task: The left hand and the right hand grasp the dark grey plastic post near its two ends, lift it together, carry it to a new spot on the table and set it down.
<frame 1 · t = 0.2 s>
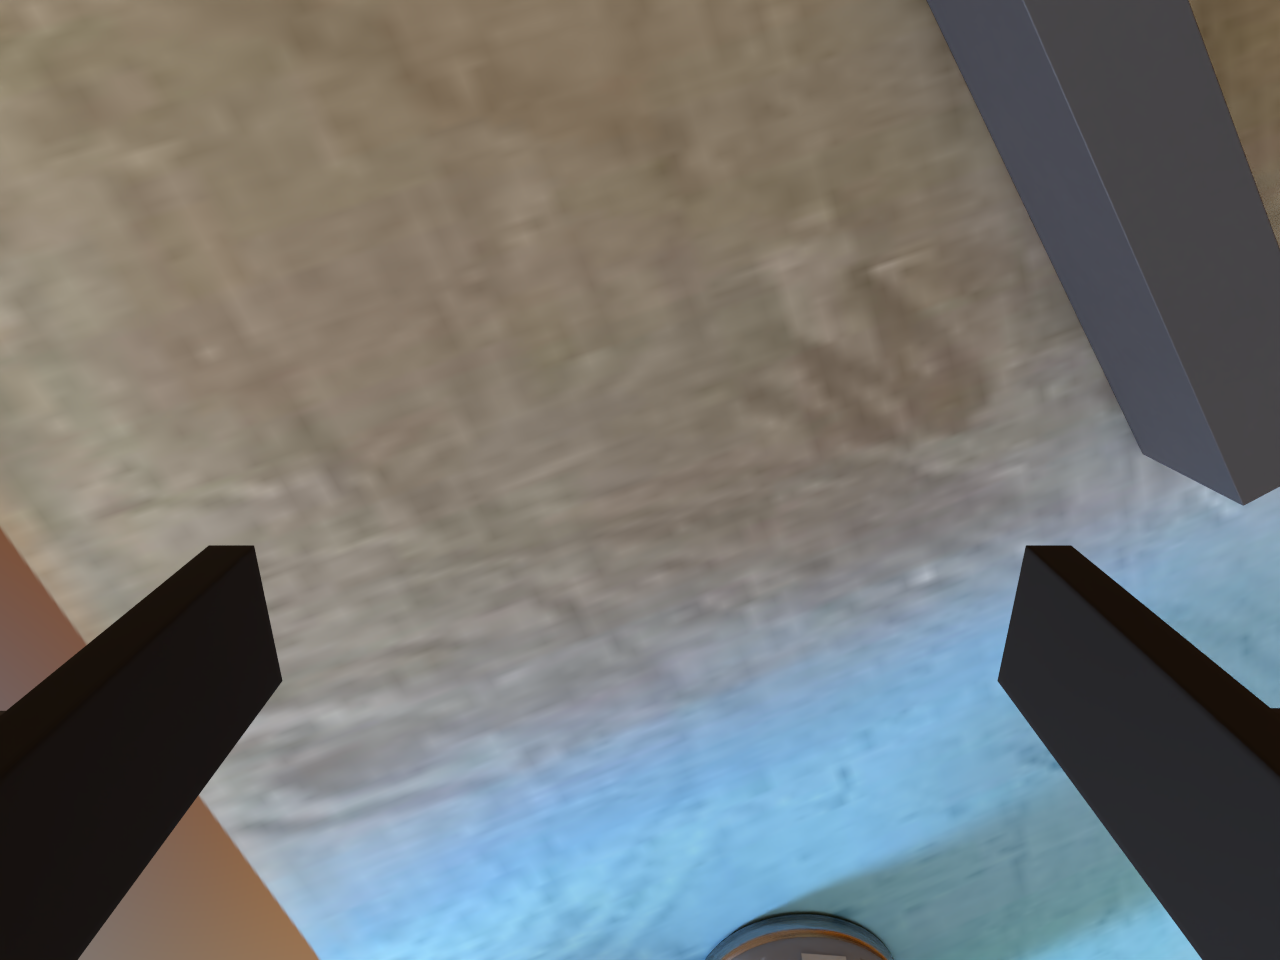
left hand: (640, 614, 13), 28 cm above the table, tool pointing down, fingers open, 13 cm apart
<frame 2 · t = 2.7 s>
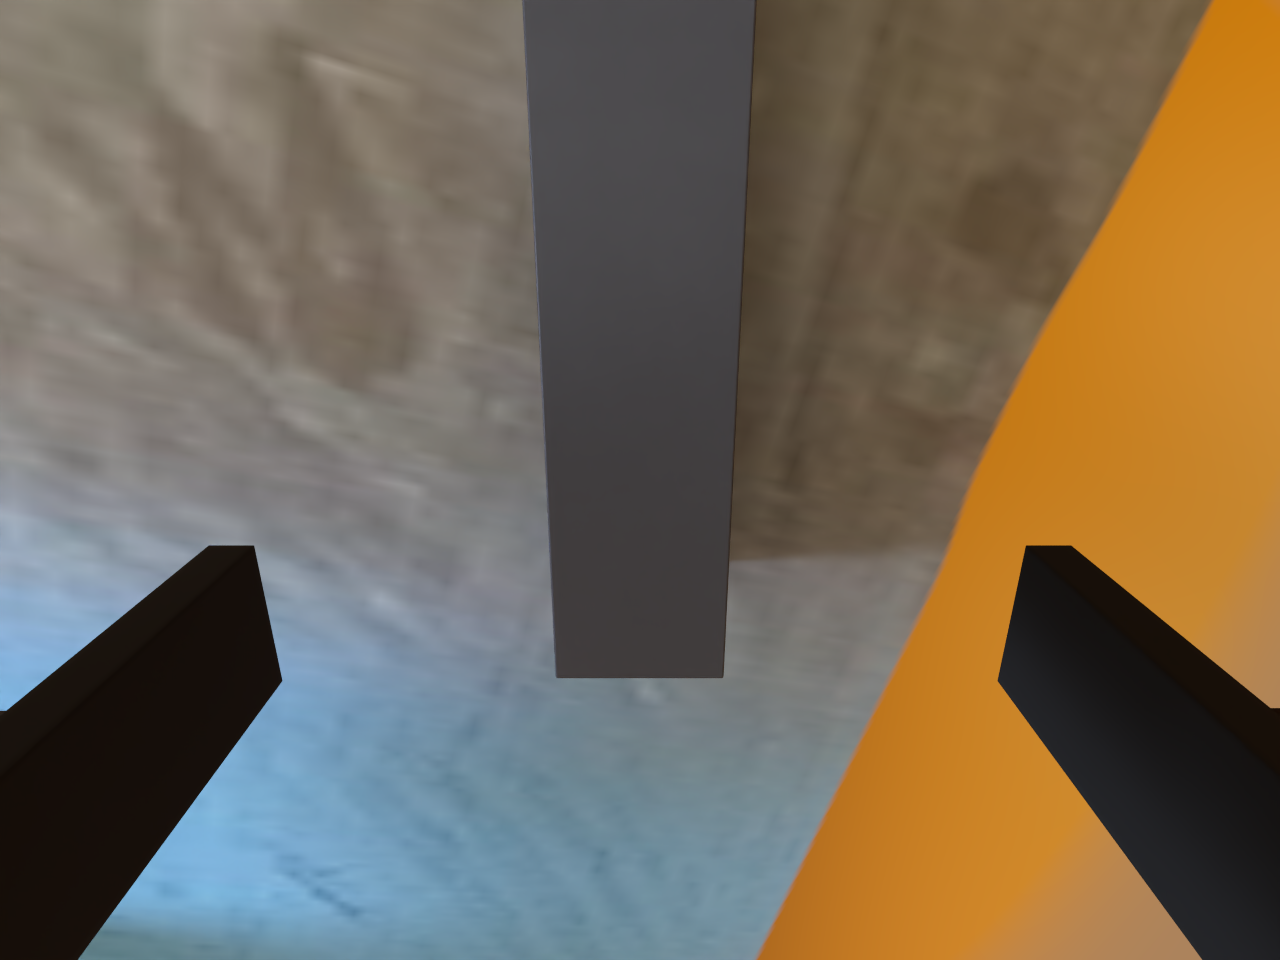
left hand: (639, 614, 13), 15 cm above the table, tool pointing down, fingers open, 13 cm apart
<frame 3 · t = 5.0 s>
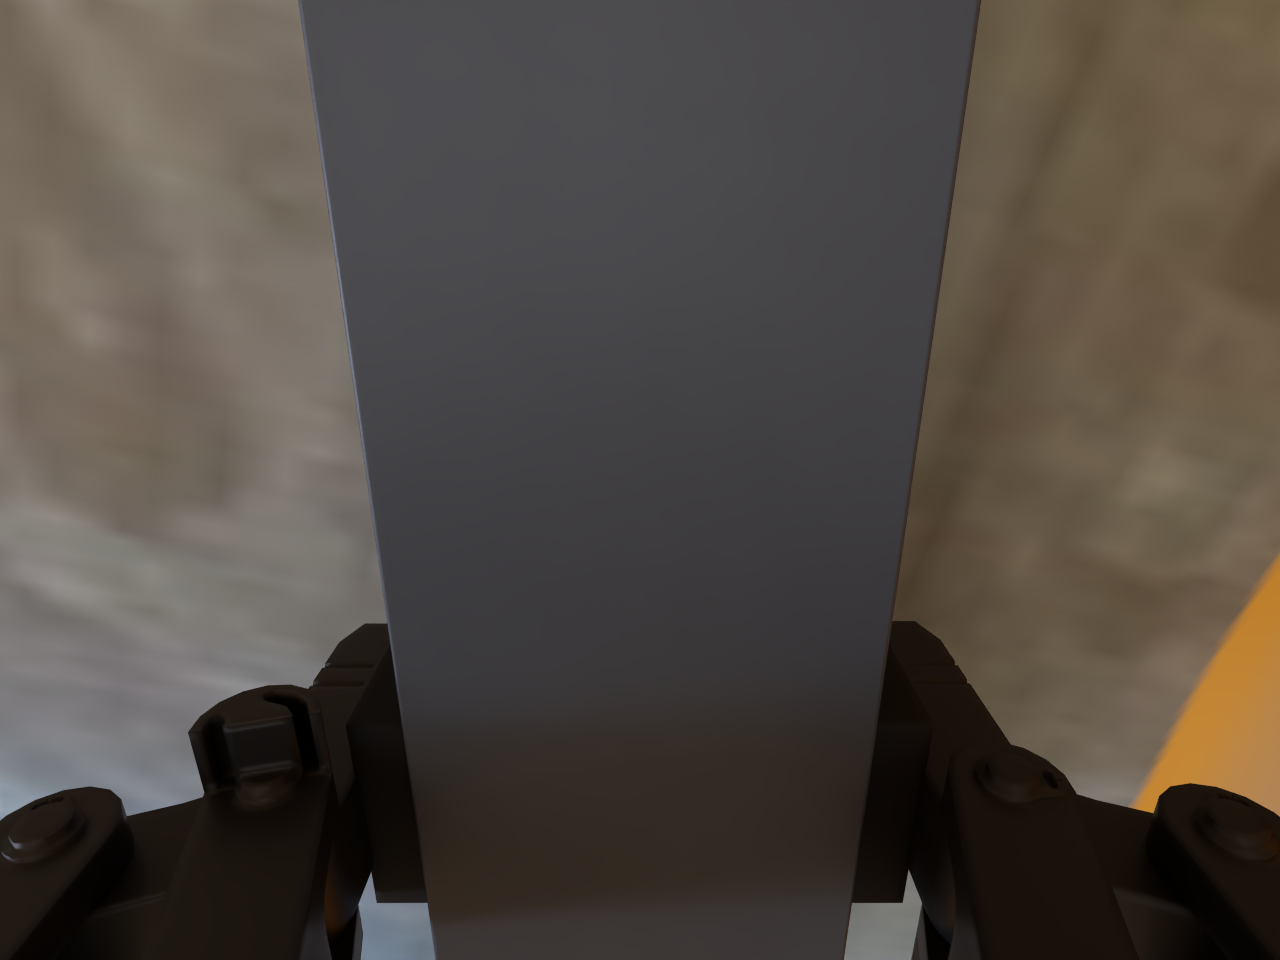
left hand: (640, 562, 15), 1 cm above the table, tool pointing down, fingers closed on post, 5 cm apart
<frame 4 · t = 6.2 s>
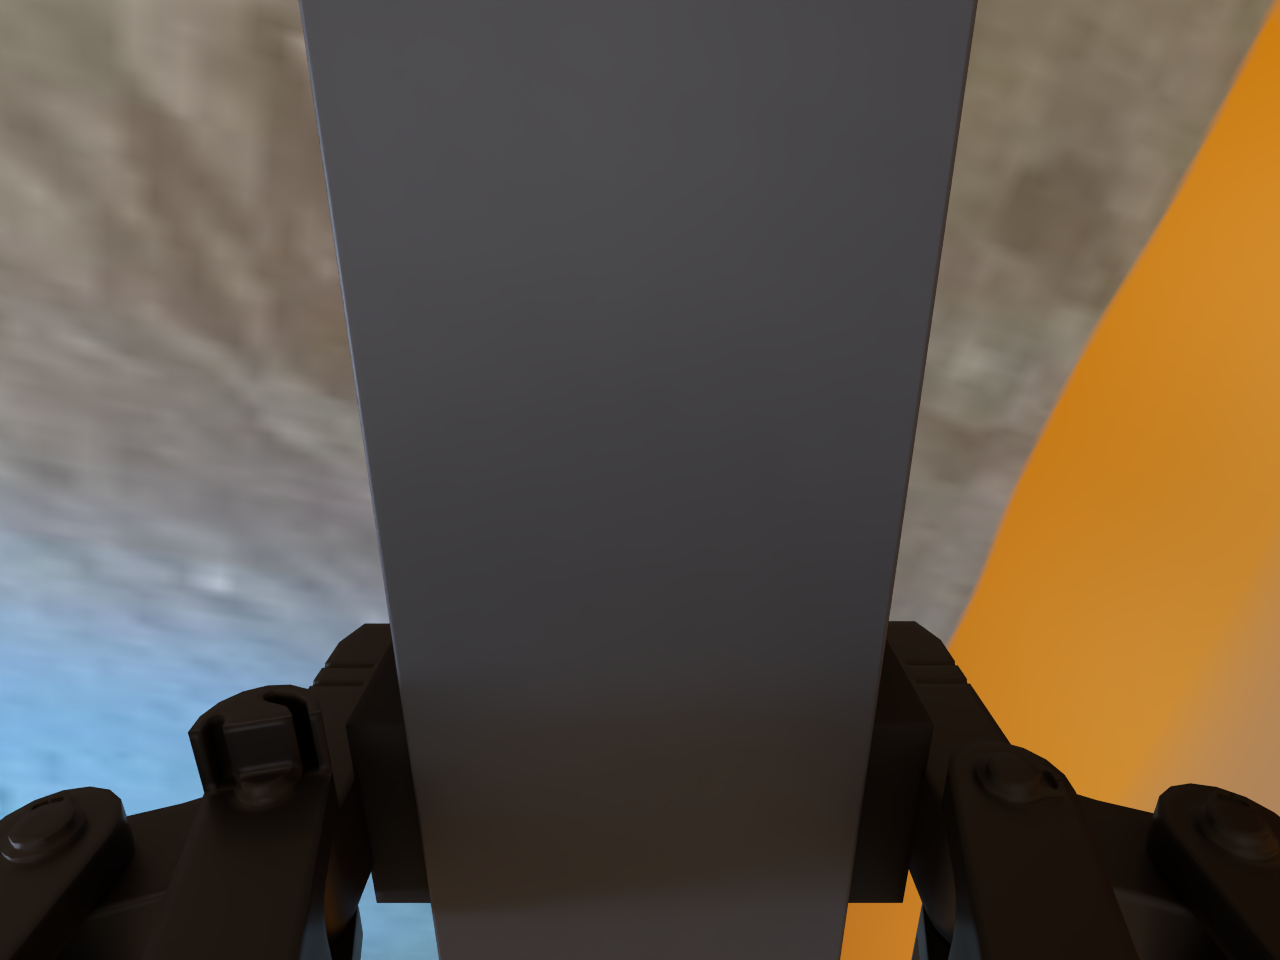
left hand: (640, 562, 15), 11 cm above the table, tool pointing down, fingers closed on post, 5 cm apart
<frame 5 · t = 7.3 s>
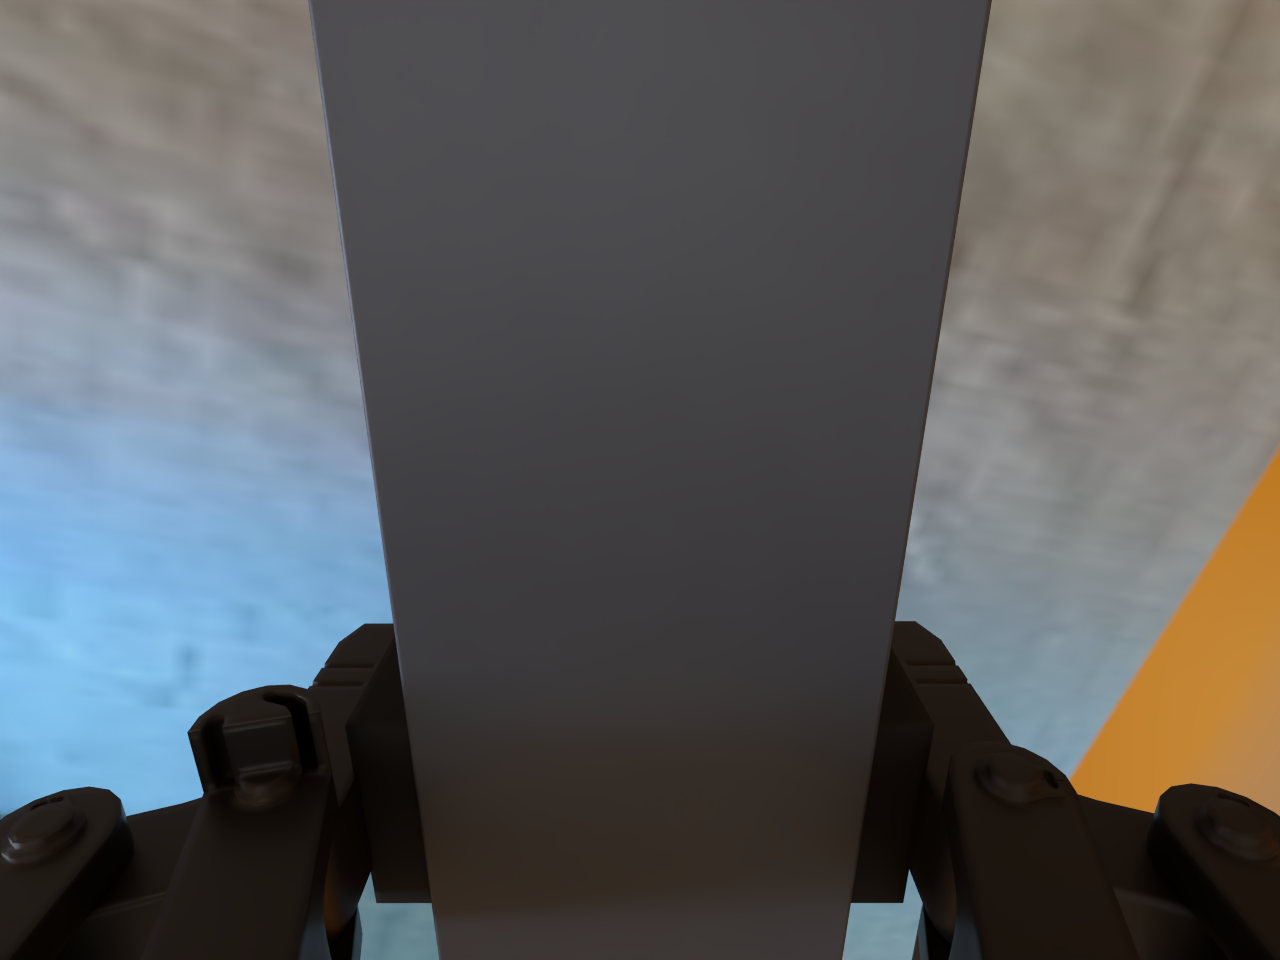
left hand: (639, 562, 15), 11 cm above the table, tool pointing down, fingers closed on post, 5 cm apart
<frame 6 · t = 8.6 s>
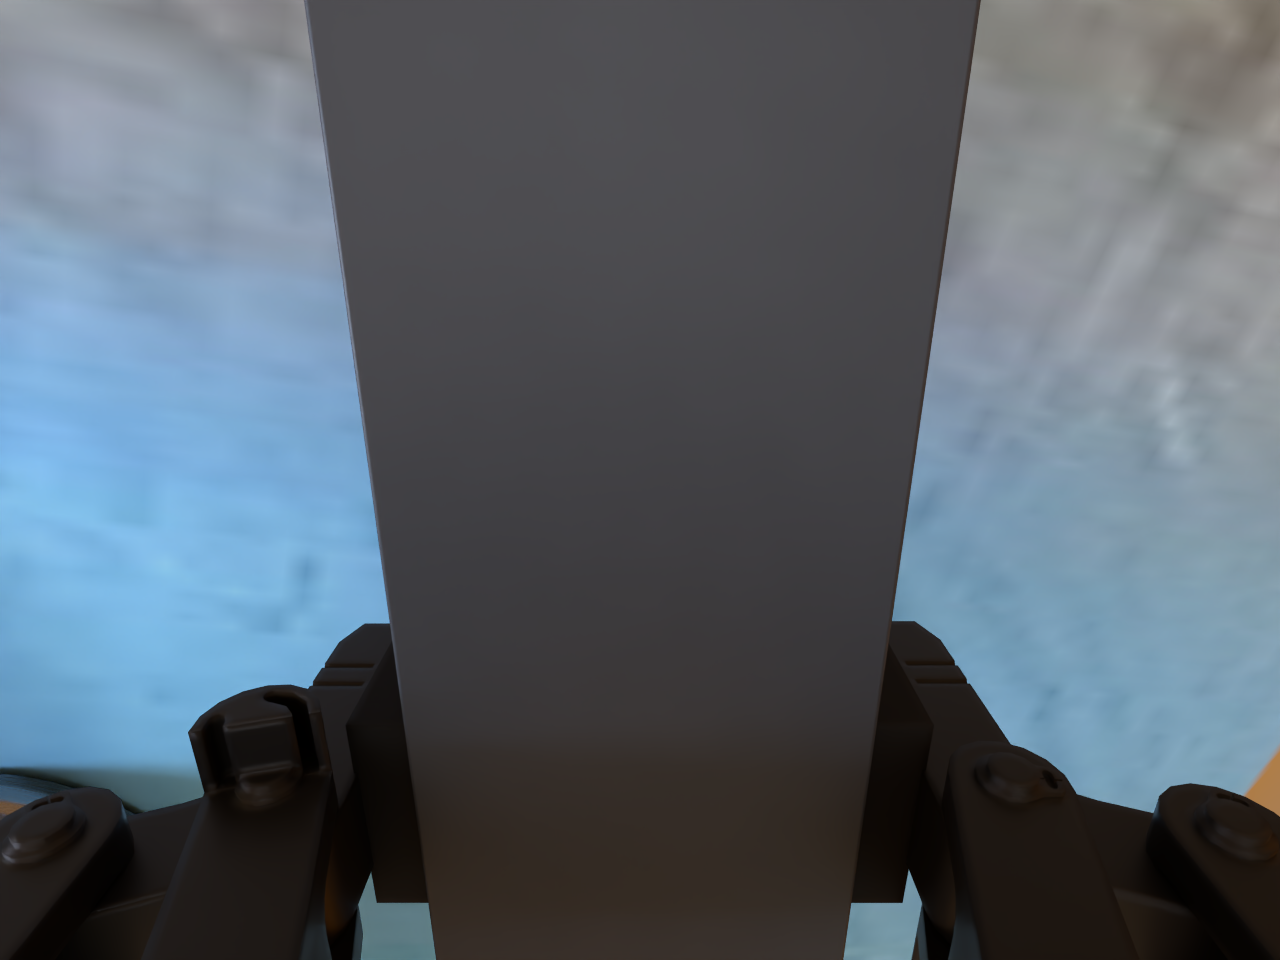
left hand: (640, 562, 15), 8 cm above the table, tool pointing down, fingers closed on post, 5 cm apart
when the left hand's fingers open (2 cm above the table, at t = 9.5 s): post drops 2 cm, on the table.
when the right hand's fingers open (4 cm above the table, at t = 9.7 s): post stays where it is, on the table.
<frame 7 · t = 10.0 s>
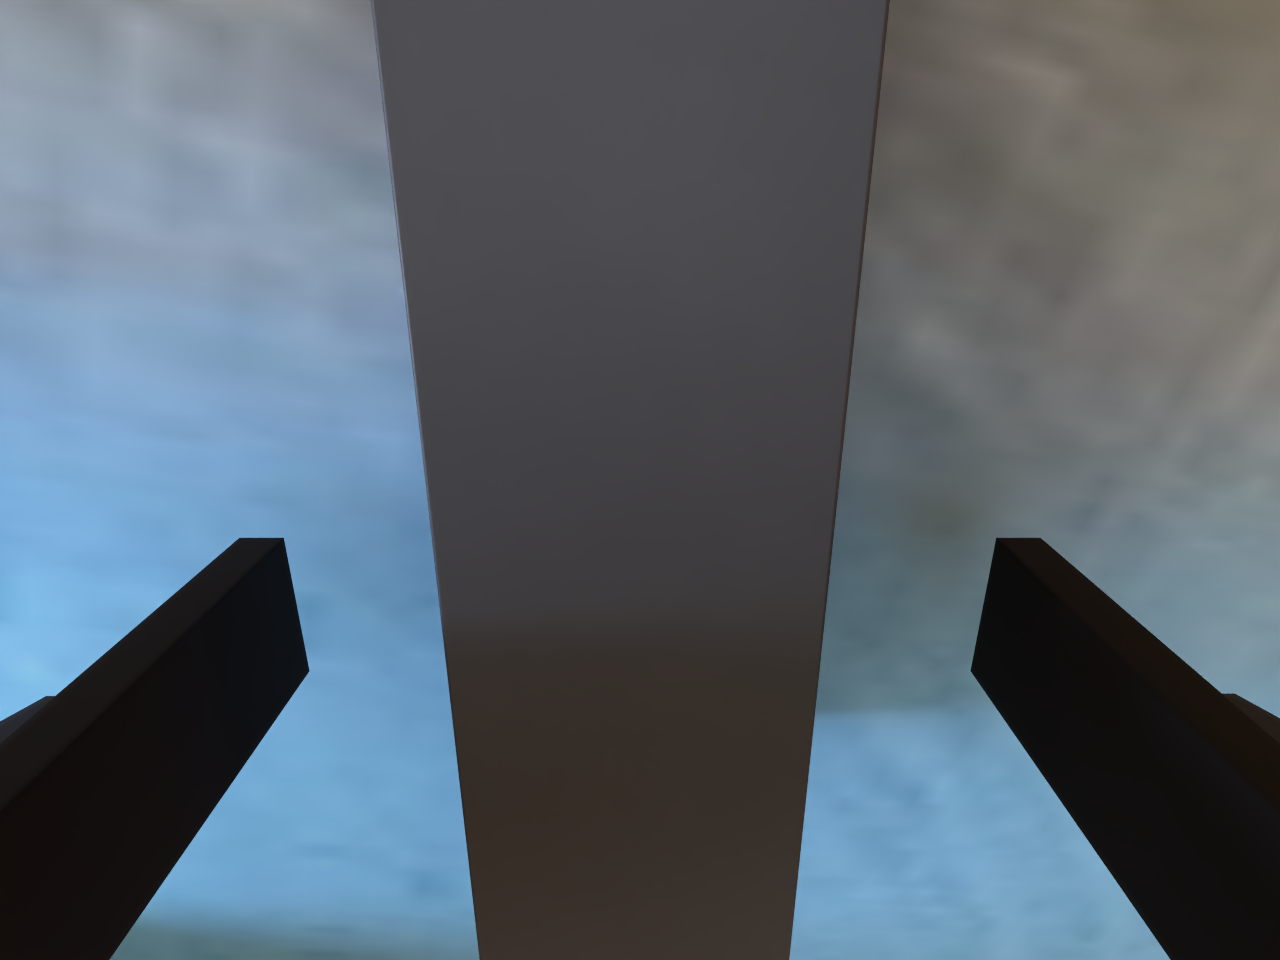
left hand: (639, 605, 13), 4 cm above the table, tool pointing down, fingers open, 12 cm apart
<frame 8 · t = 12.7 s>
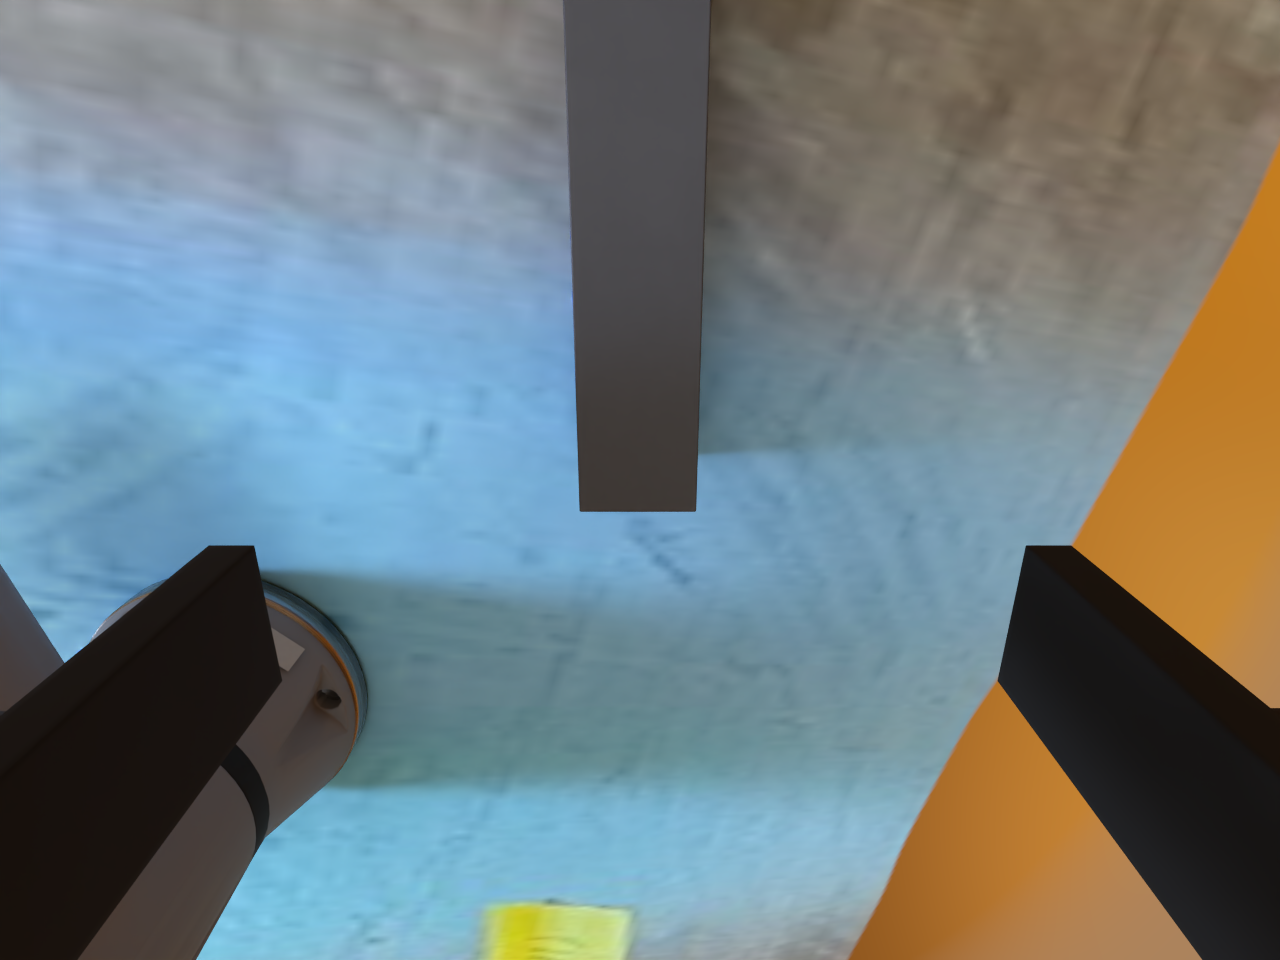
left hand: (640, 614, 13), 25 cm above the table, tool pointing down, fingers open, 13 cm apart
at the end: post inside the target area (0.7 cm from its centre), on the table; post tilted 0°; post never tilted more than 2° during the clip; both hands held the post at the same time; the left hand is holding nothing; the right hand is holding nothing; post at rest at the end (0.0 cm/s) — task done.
